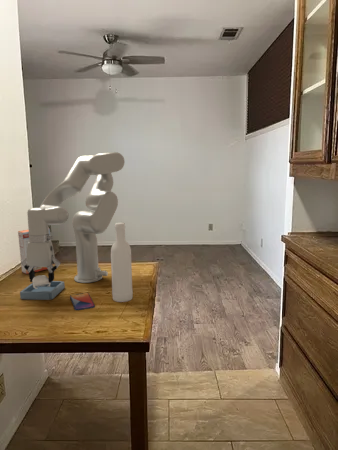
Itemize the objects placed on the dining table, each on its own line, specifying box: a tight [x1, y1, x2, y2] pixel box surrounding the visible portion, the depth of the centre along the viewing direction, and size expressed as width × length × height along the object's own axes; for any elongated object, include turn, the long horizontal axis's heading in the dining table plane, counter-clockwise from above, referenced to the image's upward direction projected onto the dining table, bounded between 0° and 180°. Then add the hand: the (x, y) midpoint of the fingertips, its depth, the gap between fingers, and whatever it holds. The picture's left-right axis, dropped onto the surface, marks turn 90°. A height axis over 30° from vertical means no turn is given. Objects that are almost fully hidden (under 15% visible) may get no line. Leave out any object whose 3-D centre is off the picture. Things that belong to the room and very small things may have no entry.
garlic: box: [31, 274, 51, 289], centre depth 143 cm, size 8×7×4 cm
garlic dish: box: [19, 280, 66, 301], centre depth 146 cm, size 13×14×3 cm
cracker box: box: [17, 227, 54, 275], centre depth 176 cm, size 14×6×21 cm, turn 136°
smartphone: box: [69, 292, 96, 311], centre depth 136 cm, size 7×15×1 cm, turn 22°
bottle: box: [110, 221, 134, 303], centre depth 137 cm, size 8×8×30 cm
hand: (41, 280), depth 145 cm, fingers closed on garlic, 7 cm apart
